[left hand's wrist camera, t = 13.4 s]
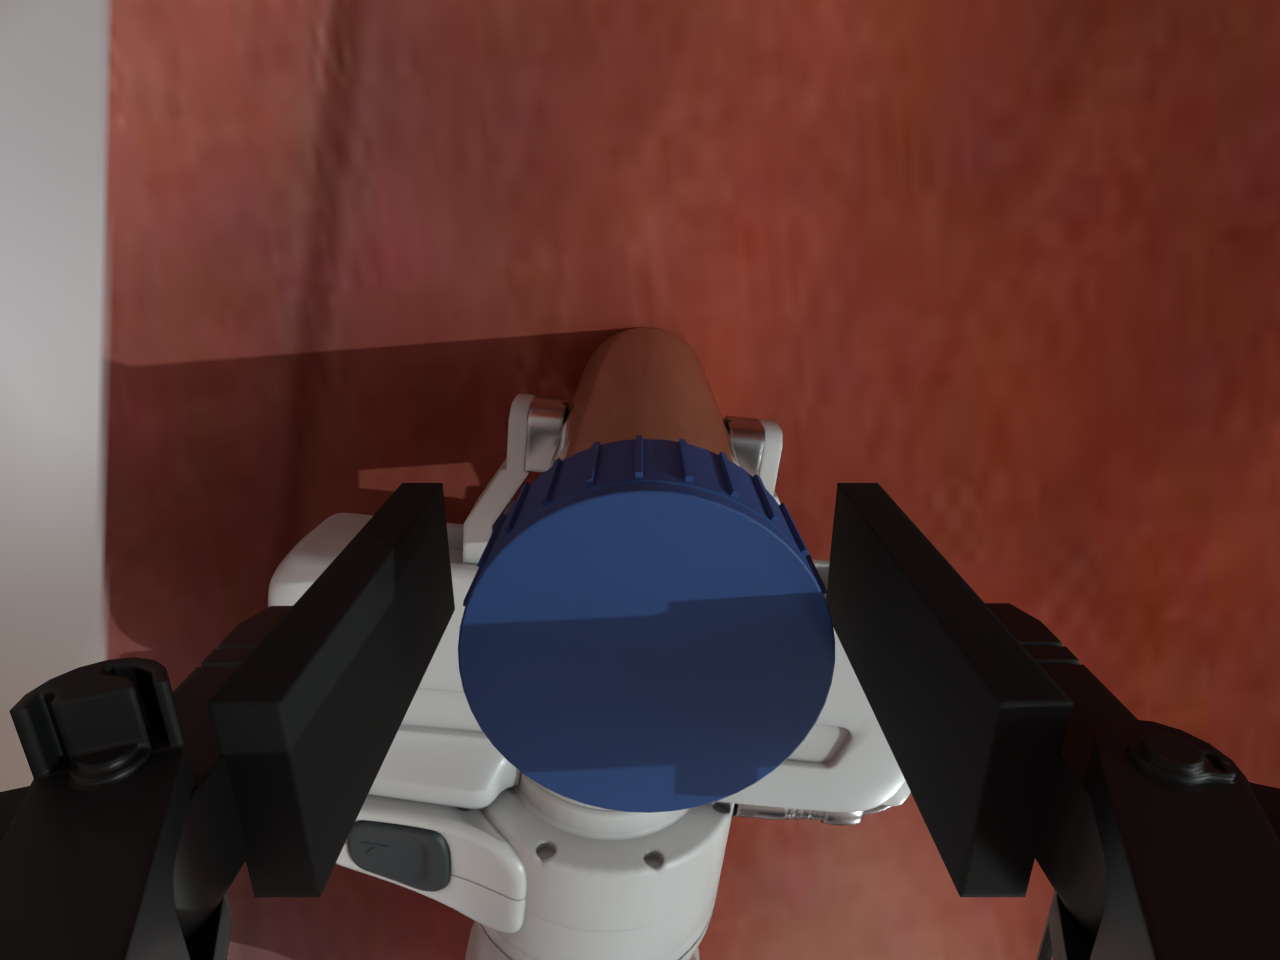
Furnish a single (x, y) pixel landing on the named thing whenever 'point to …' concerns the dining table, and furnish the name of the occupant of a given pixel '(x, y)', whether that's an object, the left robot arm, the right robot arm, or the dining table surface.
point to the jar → (643, 397)
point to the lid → (646, 629)
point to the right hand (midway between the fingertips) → (646, 411)
